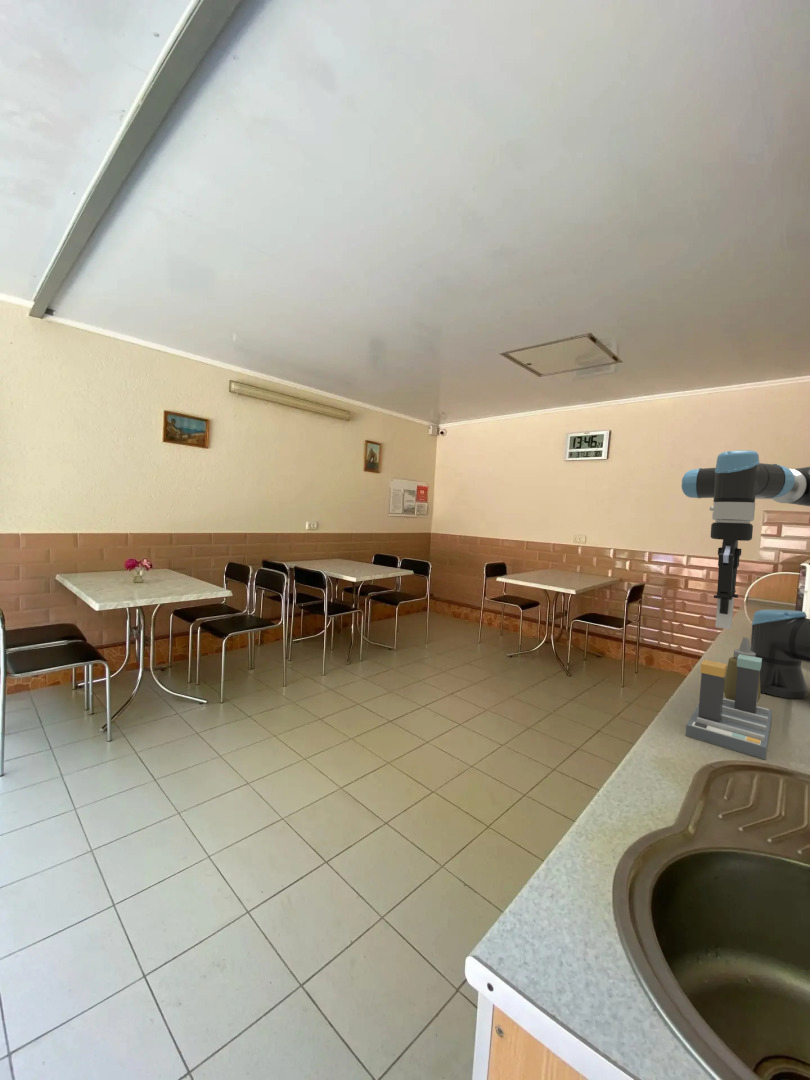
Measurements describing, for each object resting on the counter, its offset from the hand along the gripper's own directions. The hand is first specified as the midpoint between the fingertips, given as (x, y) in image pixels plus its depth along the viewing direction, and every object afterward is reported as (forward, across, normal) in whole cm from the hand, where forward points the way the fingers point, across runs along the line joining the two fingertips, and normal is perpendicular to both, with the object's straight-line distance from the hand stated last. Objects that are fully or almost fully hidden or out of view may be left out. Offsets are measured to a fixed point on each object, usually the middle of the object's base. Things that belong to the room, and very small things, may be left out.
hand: (723, 626), depth 102 cm
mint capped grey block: (+22, -12, +4) cm, 25 cm away
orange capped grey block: (+22, 0, -1) cm, 22 cm away
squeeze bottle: (+25, -23, +3) cm, 34 cm away
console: (+24, -6, +2) cm, 25 cm away
